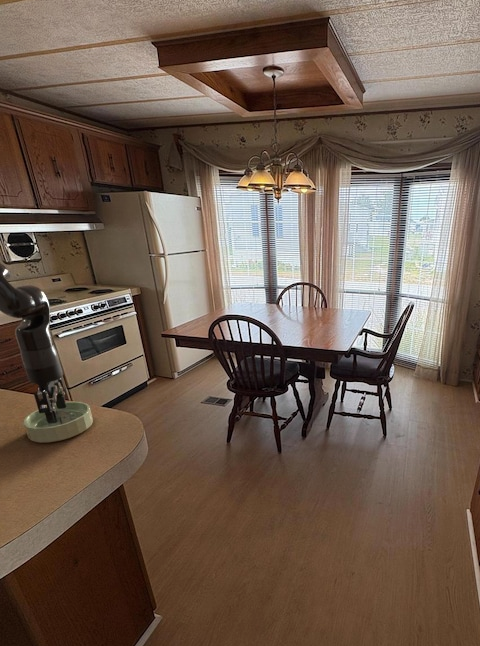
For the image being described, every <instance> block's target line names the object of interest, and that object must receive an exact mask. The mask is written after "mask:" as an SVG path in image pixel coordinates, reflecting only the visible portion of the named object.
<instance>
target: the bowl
mask: <svg viewBox="0 0 480 646" xmlns="http://www.w3.org/2000/svg"><path fill="white" fill-rule="evenodd" d="M66 405H67V407H66V408H63V409H58V408H57V405H56V403H55V411H57V412H58V411H60V412H61V411H64V412H68V413H71V414H73V415H74V416H75V417H76V418H77V419H75V420H73V421H70V422H68V423H65V424H61V425H57V426H52V427H45V426H46V425H47V424H48V422H47V421H45V420H43V419H46V416H45V413H39V410H38V409H37V410H34V411H32V412H31V413H29V414H28V415H26V416H25V418H24V420H23V427H24V430H25V432H26V435H27V438H28V439H29V440H31V442H35V443H54V442H60V441H63V440H68V439H70V438H72V437H75V436H77V435H80V434H82V433H83V432H85V431H87V430H88V429H89V428H90V427H91V426H93V422H94V418H93V415H92V411H91V407H90V405H89V404H88V403H86V402H83V401H66ZM46 407H47V405H46Z"/></svg>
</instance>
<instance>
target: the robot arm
mask: <svg viewBox="0 0 480 646" xmlns="http://www.w3.org/2000/svg"><path fill="white" fill-rule="evenodd" d="M10 278H11V272H10V270H9V269H8V268H7V267H6V266H5V265H4V264H3V263H2V262H0V313H2V314H4V315H5V316H8V317H11V318H15V319H21V322H20V323H19V325H17V327H16V328H15V330H14V334H15V339H16V342H17V344H18V348H19V351H20V358H21V362H22V364H23V368H24V370H25V373H26V376H27V379H28V382H29V383H31V384H36V385H38V388H37V389H38V390H37V391H34V392H33V396H34V399H35V403H36V406H37V410H39V413H45V416H46V419H47V422H48V423H49V424H51V423H57V421H58V418H57V415H56V411H55V404H56V405H57V408H58V409H63V408H66V407H67V405H66V402H67V401H66V397H65V394H66V393H65V392H66V391H67V388H66V385H65V382H64V379H63V377H64V370H63V368H62V367H63V366H62V364H61V361H60V357H59V354H58V351H57V349H56V346H55V344H54V340H53V337H52V333H51V329H50V325H51V307H50V302H49V299H48V297H47V295H46V293H45V292H44V291H43V290H42V289H41V288H39V287H38V286H35V285H31V284H26V285H25V284H24V285H21V286H17V287H15V286H13V285H12V284H11V283H10V282H9V279H10ZM46 406H47V407H46Z"/></svg>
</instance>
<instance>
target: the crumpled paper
mask: <svg viewBox="0 0 480 646" xmlns="http://www.w3.org/2000/svg"><path fill="white" fill-rule="evenodd" d="M56 415H57V418H58V421H57V423H51V424H49V423H48V424H47V425H46V426H45V427H52V426H57V425H61V424H65V423H68V422H70V421H73V420H75V419H77V418H76V417H75V416H74V415H73V414H71V413H68V412H64V411H61V412H60V411H58V412H57V411H56ZM43 420H45V421H47V419H43Z"/></svg>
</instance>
